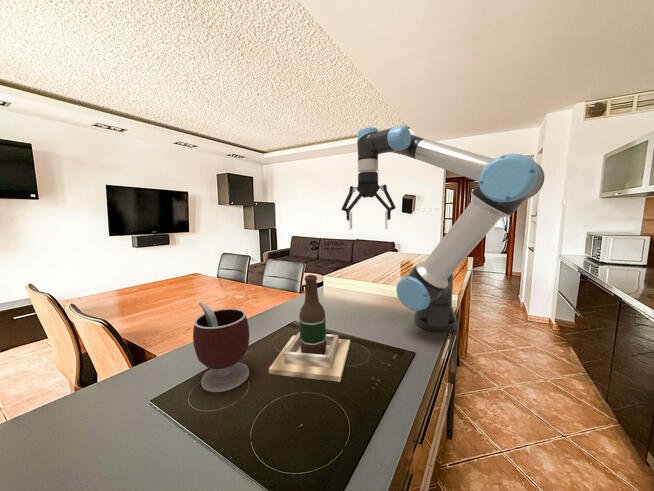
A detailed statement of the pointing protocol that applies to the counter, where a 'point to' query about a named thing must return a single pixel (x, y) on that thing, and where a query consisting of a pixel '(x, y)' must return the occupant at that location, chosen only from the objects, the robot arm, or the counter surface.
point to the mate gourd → (221, 347)
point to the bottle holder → (312, 360)
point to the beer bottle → (312, 320)
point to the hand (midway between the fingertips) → (368, 228)
